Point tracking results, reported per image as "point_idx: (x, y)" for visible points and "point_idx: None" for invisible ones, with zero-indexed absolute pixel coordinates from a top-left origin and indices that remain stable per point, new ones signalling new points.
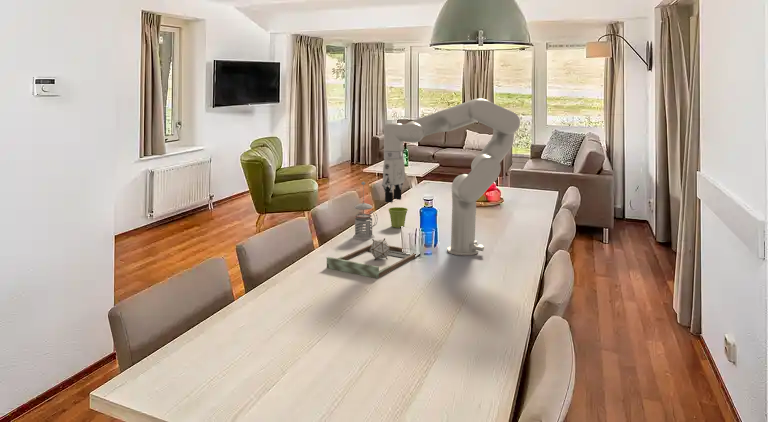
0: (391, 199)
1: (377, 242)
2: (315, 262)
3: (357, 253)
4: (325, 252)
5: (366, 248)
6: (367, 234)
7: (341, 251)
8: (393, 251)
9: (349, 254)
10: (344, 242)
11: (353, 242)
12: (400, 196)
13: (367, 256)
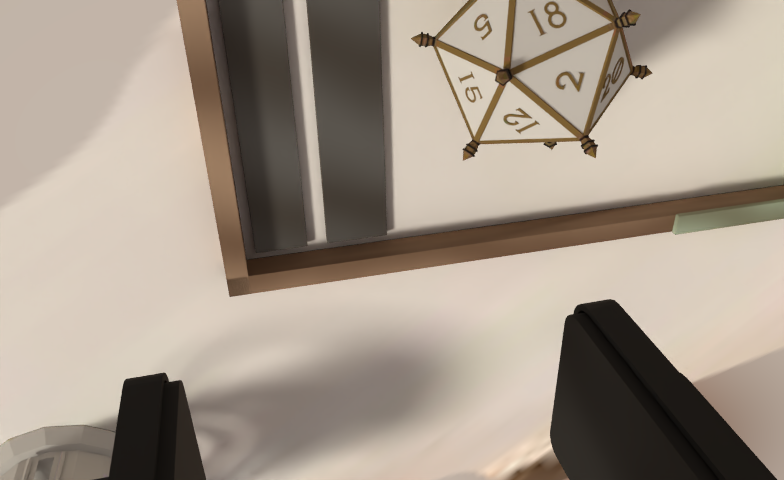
0: (648, 354)
1: (607, 78)
2: (729, 309)
3: (507, 231)
4: (541, 398)
5: (385, 253)
6: (87, 469)
7: (476, 353)
8: (265, 54)
9: (596, 235)
10: (292, 469)
11: (251, 437)
12: (155, 438)
13: (488, 153)
